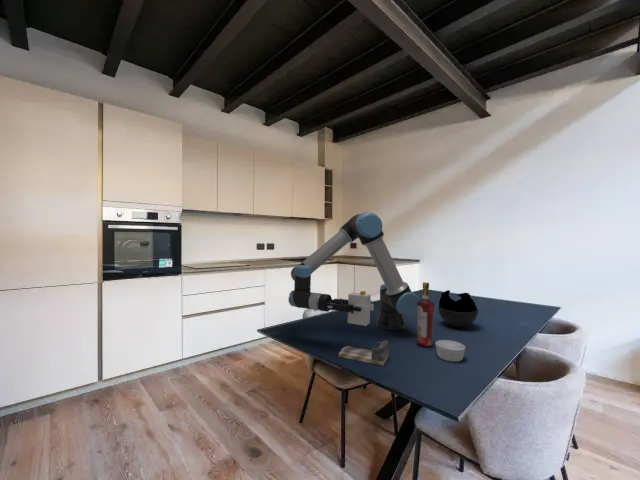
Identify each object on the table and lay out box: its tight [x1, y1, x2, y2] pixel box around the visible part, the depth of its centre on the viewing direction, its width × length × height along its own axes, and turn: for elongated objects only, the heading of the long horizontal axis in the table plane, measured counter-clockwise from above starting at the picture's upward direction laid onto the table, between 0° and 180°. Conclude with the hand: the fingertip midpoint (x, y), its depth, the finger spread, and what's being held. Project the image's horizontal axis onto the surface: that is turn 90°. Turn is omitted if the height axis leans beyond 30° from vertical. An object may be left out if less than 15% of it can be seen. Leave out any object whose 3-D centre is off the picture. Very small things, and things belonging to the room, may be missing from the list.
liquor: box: [416, 282, 435, 348], centre depth 135 cm, size 7×7×28 cm
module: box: [347, 290, 371, 327], centre depth 127 cm, size 8×5×13 cm, turn 63°
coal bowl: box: [437, 289, 479, 328], centre depth 165 cm, size 20×20×19 cm
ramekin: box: [434, 339, 466, 363], centre depth 122 cm, size 11×11×5 cm
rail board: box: [338, 340, 390, 366], centre depth 121 cm, size 18×9×6 cm, turn 64°
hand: (371, 308), depth 124 cm, fingers closed on module, 5 cm apart
